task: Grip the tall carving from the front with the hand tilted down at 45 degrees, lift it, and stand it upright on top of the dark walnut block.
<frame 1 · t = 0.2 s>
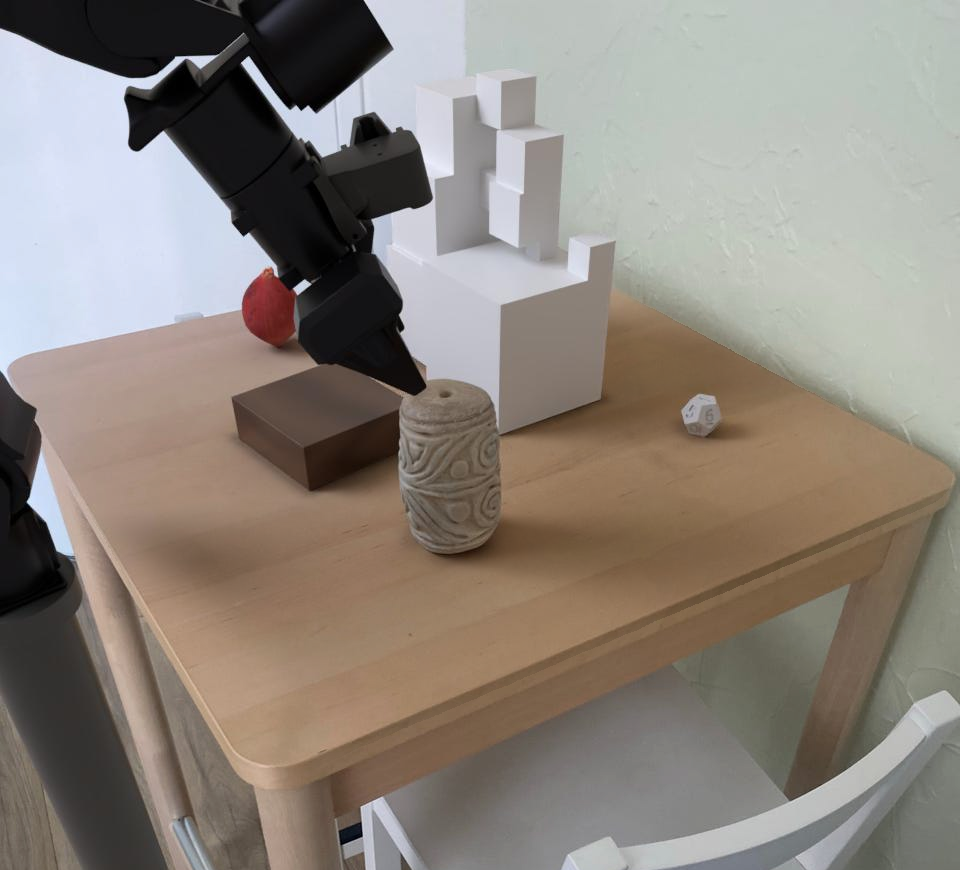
hand: (409, 360, 66), 13 cm above the table, tool tilted 35°, fingers open, 9 cm apart
carving: (451, 540, 73), on the table
onion: (277, 347, 98), on the table
building blocks: (483, 373, 93), on the table
walnut block: (326, 441, 83), on the table
game die: (698, 432, 85), on the table
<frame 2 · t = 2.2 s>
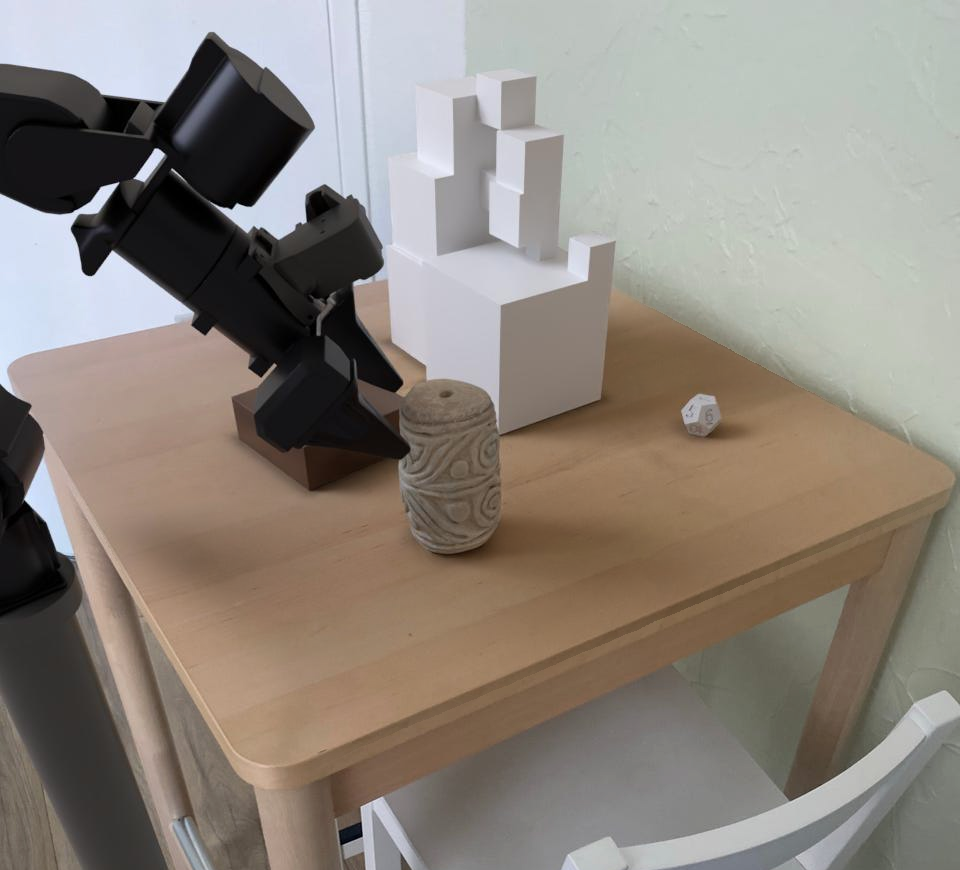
hand: (402, 419, 66), 10 cm above the table, tool tilted 45°, fingers open, 9 cm apart
nothing on the table moved.
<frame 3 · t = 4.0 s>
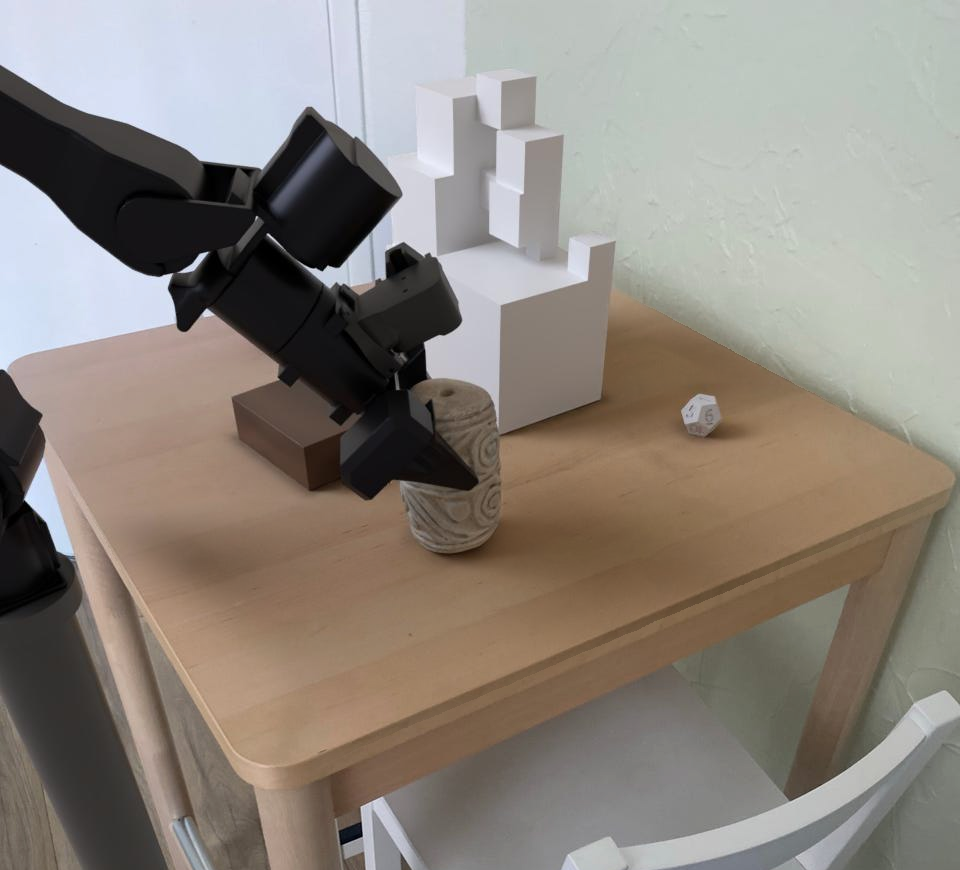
hand: (470, 462, 68), 7 cm above the table, tool tilted 45°, fingers closed on carving, 6 cm apart
carving: (451, 540, 73), on the table, touching gripper
everything else where it was.
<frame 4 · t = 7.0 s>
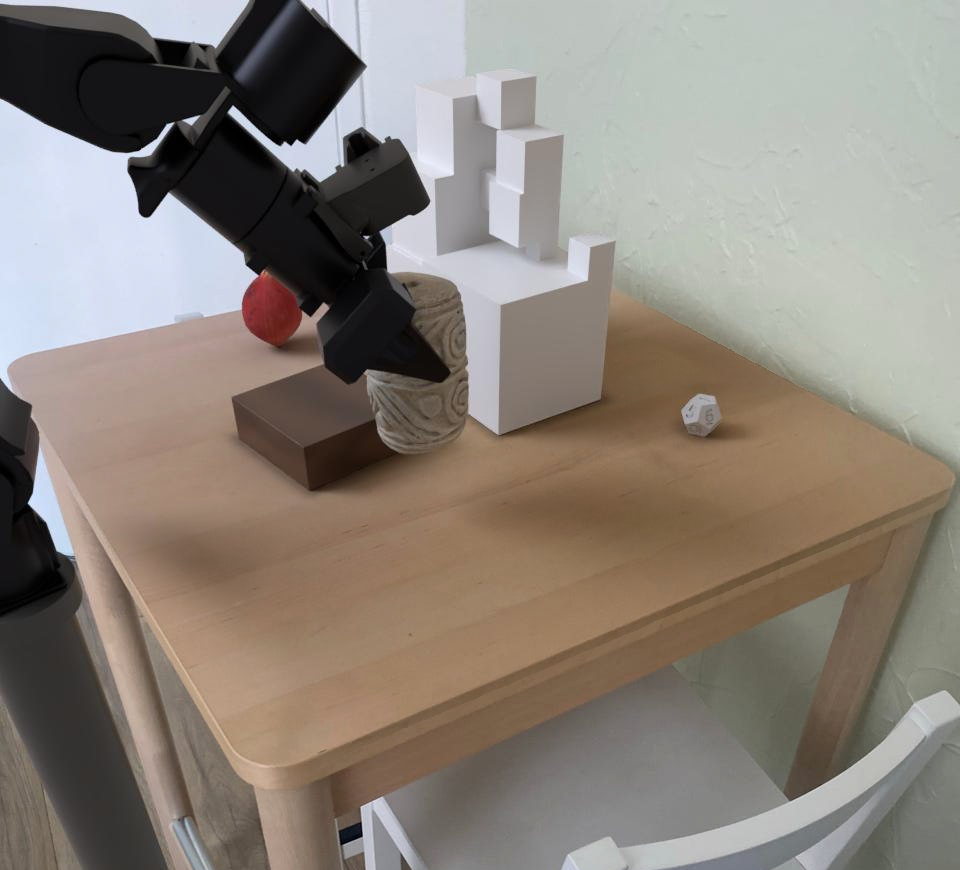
hand: (436, 357, 68), 12 cm above the table, tool tilted 45°, fingers closed on carving, 6 cm apart
carving: (419, 443, 73), point 6 cm above the table, touching gripper
everything else where it was.
when the fingers open (11 cm above the table, at t = 10.3 s): carving stays where it is, resting on walnut block.
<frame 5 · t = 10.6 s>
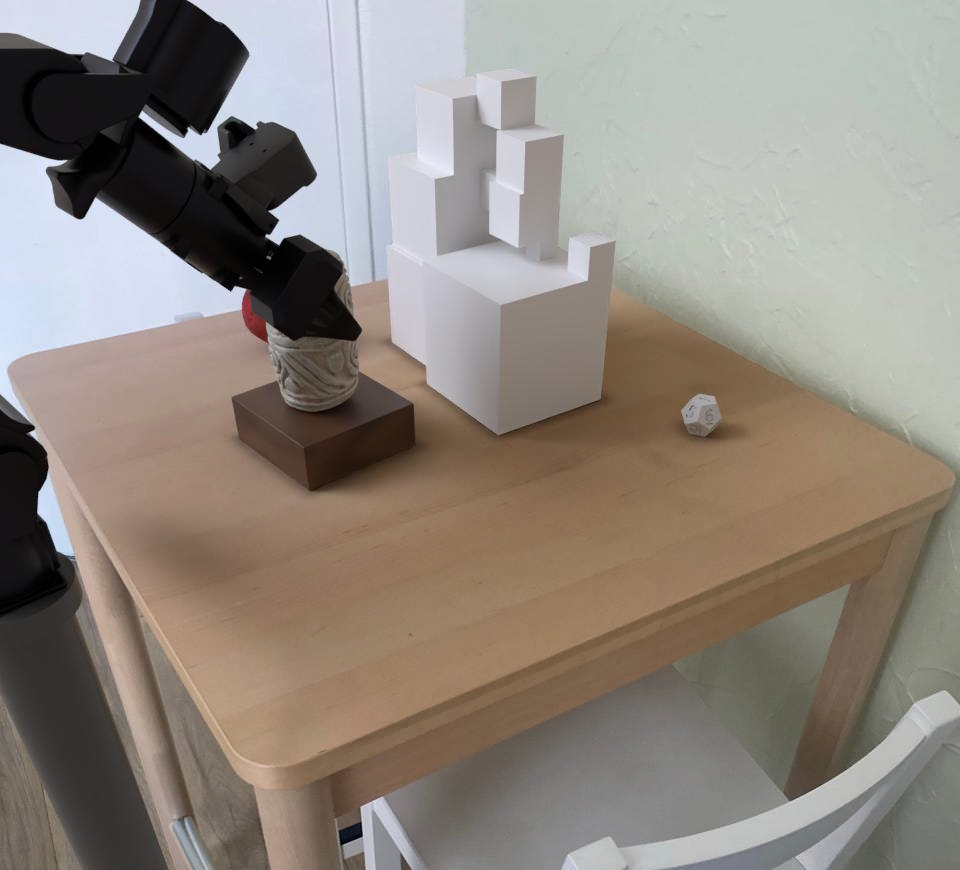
hand: (328, 314, 77), 11 cm above the table, tool tilted 45°, fingers open, 9 cm apart
carving: (319, 401, 81), point 4 cm above the table, touching walnut block
everything else where it was.
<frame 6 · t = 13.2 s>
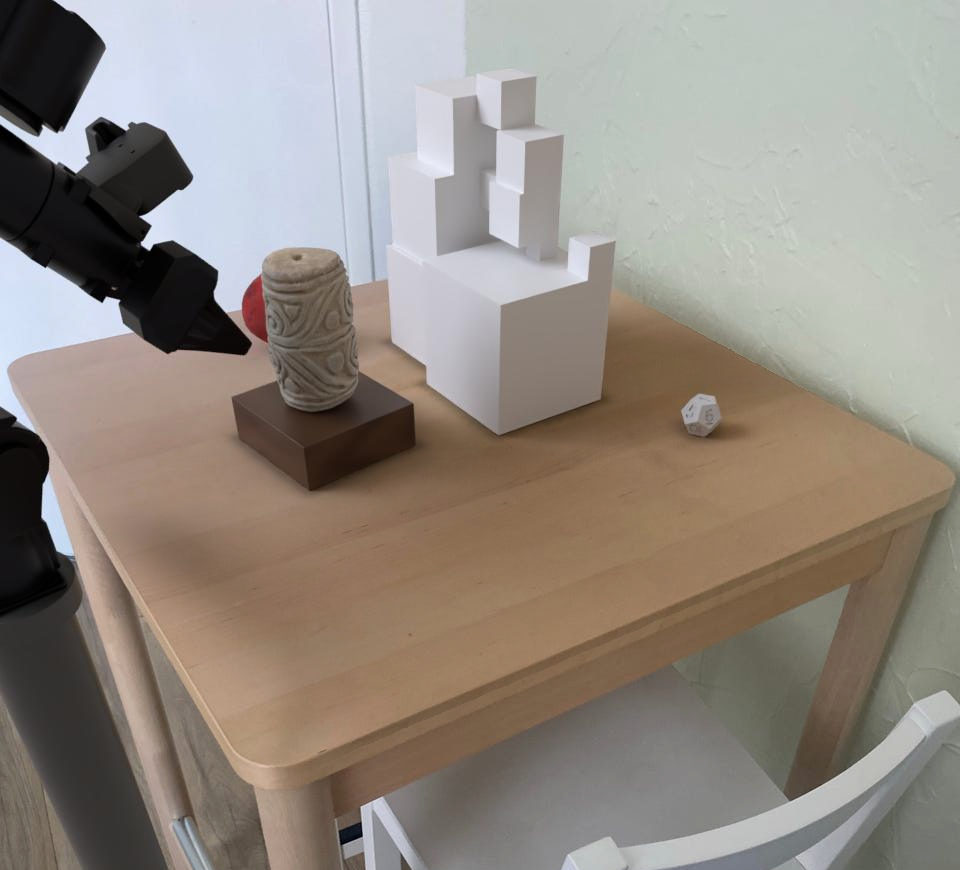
hand: (219, 328, 72), 12 cm above the table, tool tilted 45°, fingers open, 9 cm apart
nothing on the table moved.
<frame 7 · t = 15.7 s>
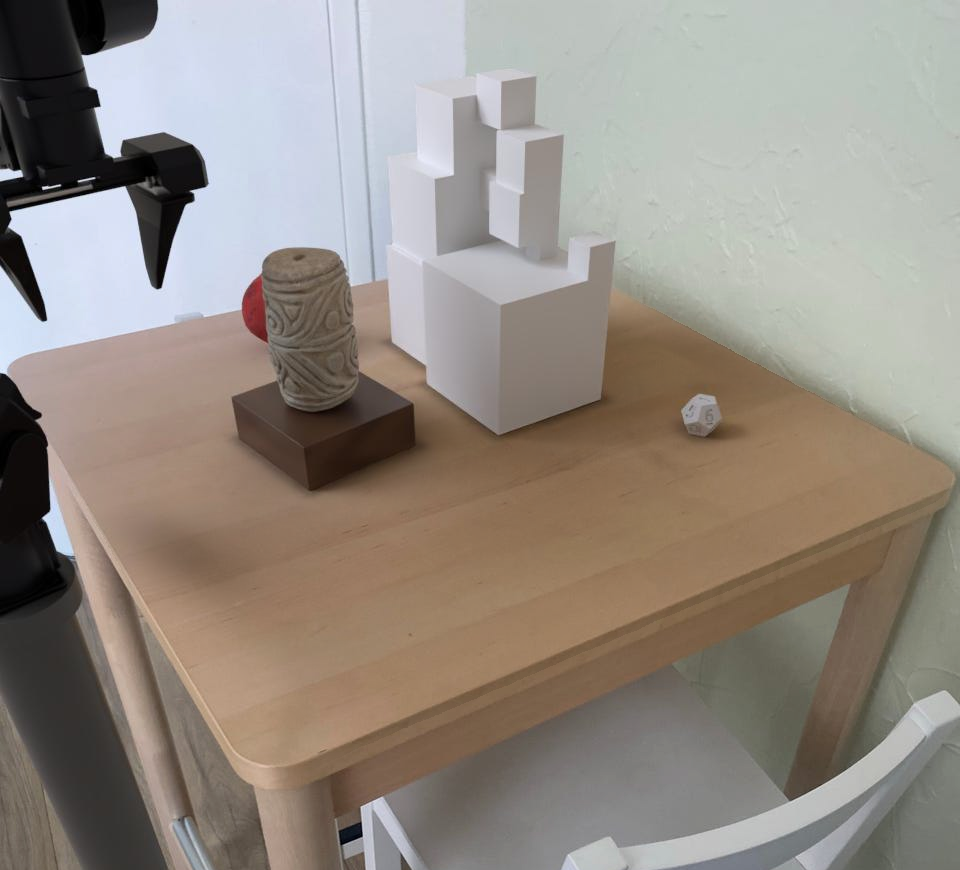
hand: (101, 303, 73), 13 cm above the table, tool pointing down, fingers open, 9 cm apart
nothing on the table moved.
at the end: carving inside the target area on the walnut block (0.2 cm from its centre), point 3.8 cm above the walnut block's base; carving tilted 0°; the gripper is holding nothing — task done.
